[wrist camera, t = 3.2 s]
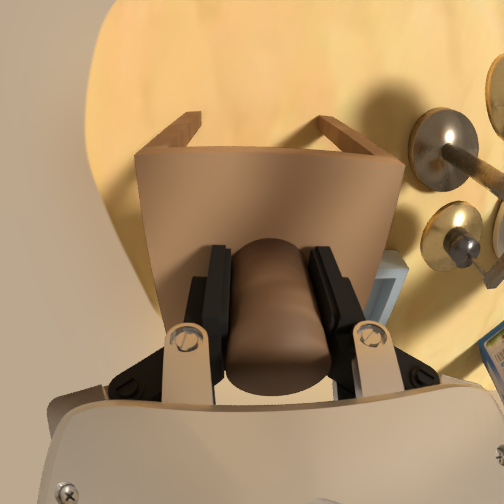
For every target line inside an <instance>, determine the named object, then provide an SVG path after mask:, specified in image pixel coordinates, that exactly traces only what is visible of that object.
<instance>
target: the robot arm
mask: <svg viewBox="0 0 504 504" xmlns="http://www.w3.org/2000/svg"><path fill="white" fill-rule="evenodd" d="M493 248H494V251H495V254H496V256H497V257H498V258H500V257H501V255H502V254H503V253H504V202H503V201H502V203H501V205H500V208H499V211H498V214H497V217H496V221H495V224H494V231H493ZM308 271H309V275H310V279H311V282H312V286H313V290H314V293H315V297H316V301H317V305H318V308H319V312H320V316H321V320H322V324H323V328H324V332H325V336H326V340H327V344H328V348H329V352H330V356H331V368H330V370H329V372H328V373H327V375H328V377H329V378H331V379H332V380H333V396H334V401H328V402H317V403H302V404H285V405H252V406H251V405H248V406H247V405H246V406H245V405H243V406H242V405H240V406H236V405H233V406H232V405H216V401H215V390H214V386H215V385H216V384H217V383H219V382H220V381H221V380H222V379H223V378H224V371H226V351H227V343H228V331H229V307H230V284H231V248H226V245H212V249H211V256H210V263H209V270H208V277H200V276H193V277H192V280H191V285H190V290H189V295H188V300H187V306H186V311H185V316H184V322H183V323H182V324H178V325H176V326H174V327H172V328H171V329H170V330H169V331H168V333H167V334H166V337H165V344H164V347H163V348H161V349H159V350H158V351H156V352H155V353H153V354H151V355H150V356H148V357H147V358H145V359H143V360H142V361H140V362H138V363H137V364H135V365H134V366H132V367H130V368H129V369H127V370H125V371H124V372H122V373H120V374H119V375H117V376H116V377H115V378H114V379H112V381H111V382H110V384H109V385H108V386H104V387H103V386H102V385H98V386H94V387H91V388H87V389H84V390H80V391H77V392H73V393H70V394H66V395H63V396H59V397H57V398H55V399H53V400H52V401H51V402H50V403H49V405H48V408H47V418H48V424H49V430H50V435H51V443H50V446H49V449H48V453H47V456H46V460H45V464H44V469H43V473H42V478H41V483H40V489H39V495H38V501H37V504H504V415H503V413H502V411H501V409H500V407H499V405H498V404H497V402H496V400H495V399H494V398H493V396H492V395H491V394H490V393H489V392H488V391H487V390H485V389H484V388H483V387H482V386H481V385H479V384H477V383H473V382H469V381H466V380H462V379H458V378H454V377H451V376H447V375H444V374H442V375H441V376H438V374H437V373H436V371H435V370H434V369H433V368H431V367H430V366H428V365H426V364H425V363H423V362H421V361H419V360H418V359H416V358H414V357H412V356H411V355H409V354H407V353H405V352H404V351H402V350H400V349H398V348H396V347H395V346H393V342H392V339H391V335H390V333H389V331H388V330H387V329H386V327H385V326H383V325H382V324H380V323H378V322H375V321H369V320H368V321H366V319H365V316H364V314H363V311H362V308H361V306H360V303H359V301H358V298H357V296H356V294H355V291H354V289H353V286H352V284H351V281H350V279H349V278H348V277H342V275H341V272H340V270H339V267H338V265H337V262H336V260H335V257H334V255H333V253H332V250H331V248H330V246H316V247H315V249H312V250H311V251H310V257H309V263H308ZM327 375H326V376H327Z"/></svg>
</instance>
